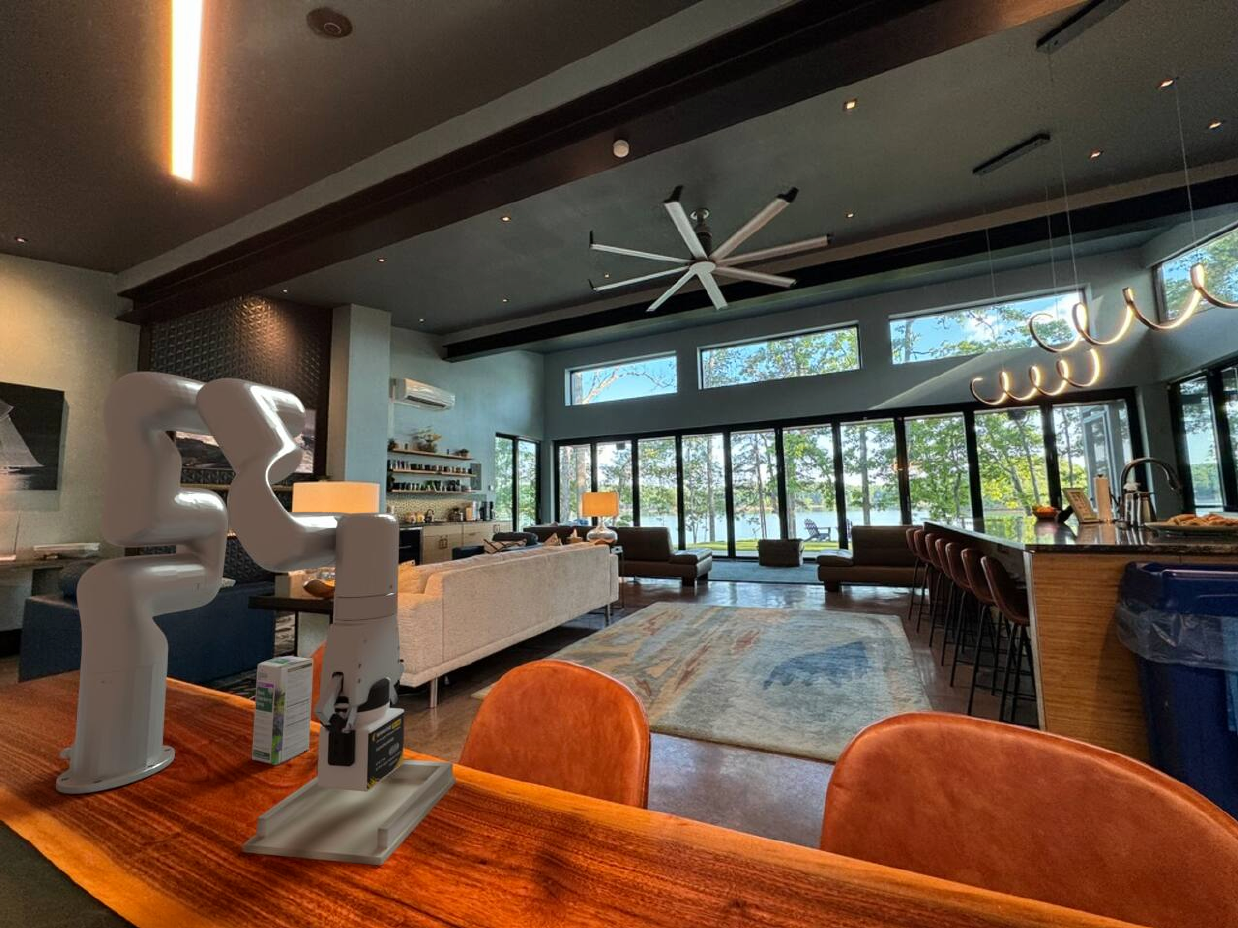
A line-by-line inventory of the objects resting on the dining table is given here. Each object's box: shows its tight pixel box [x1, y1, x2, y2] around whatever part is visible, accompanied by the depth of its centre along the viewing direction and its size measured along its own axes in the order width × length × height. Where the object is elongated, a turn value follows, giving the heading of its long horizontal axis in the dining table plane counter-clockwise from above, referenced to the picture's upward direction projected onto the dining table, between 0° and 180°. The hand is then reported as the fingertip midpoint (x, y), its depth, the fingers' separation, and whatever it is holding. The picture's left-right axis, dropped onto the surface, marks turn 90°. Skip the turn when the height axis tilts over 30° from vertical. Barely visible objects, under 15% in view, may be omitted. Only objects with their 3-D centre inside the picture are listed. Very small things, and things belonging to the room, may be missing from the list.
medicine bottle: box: [317, 678, 405, 792], centre depth 66 cm, size 7×7×12 cm
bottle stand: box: [242, 758, 457, 866], centre depth 65 cm, size 17×17×3 cm
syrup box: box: [251, 655, 314, 766], centre depth 82 cm, size 6×6×14 cm
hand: (362, 748), depth 65 cm, fingers closed on medicine bottle, 7 cm apart
